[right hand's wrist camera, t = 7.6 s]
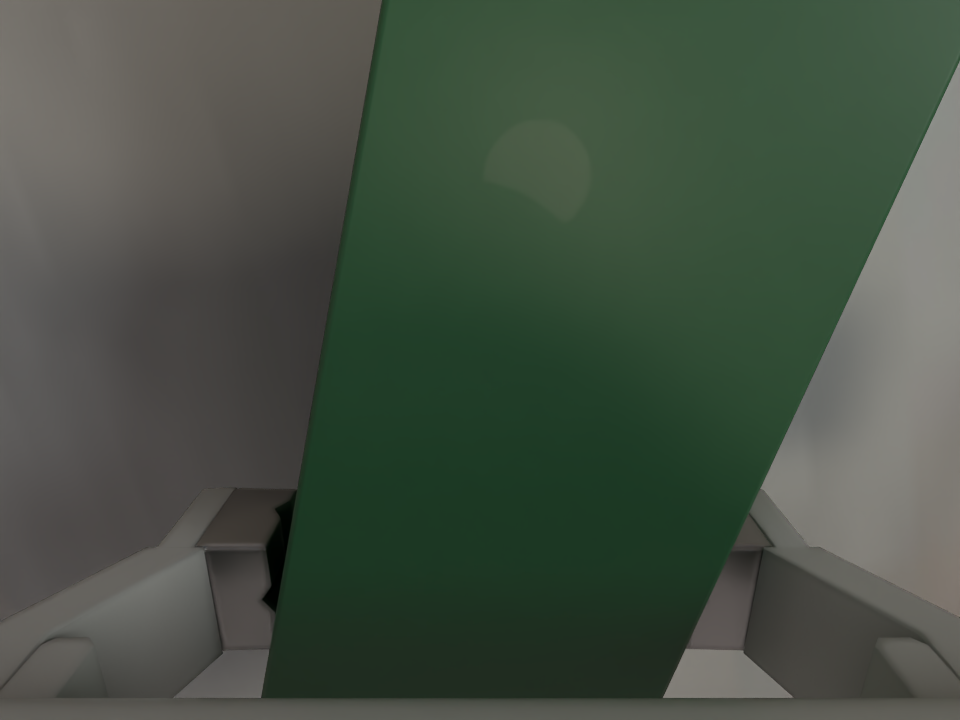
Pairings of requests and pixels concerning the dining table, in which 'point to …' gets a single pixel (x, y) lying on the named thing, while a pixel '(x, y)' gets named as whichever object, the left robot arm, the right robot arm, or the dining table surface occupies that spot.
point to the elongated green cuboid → (580, 326)
